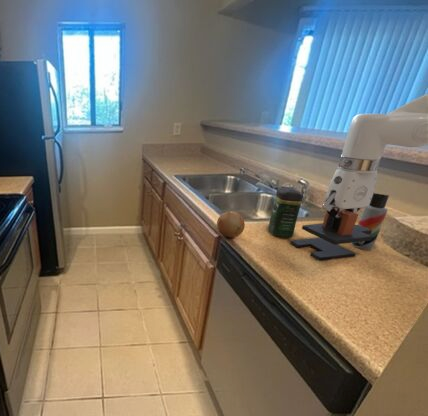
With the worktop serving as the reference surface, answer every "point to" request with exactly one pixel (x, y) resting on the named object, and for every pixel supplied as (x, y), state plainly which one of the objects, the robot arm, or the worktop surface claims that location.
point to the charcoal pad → (323, 249)
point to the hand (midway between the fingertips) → (336, 228)
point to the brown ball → (230, 224)
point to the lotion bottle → (372, 219)
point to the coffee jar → (285, 212)
